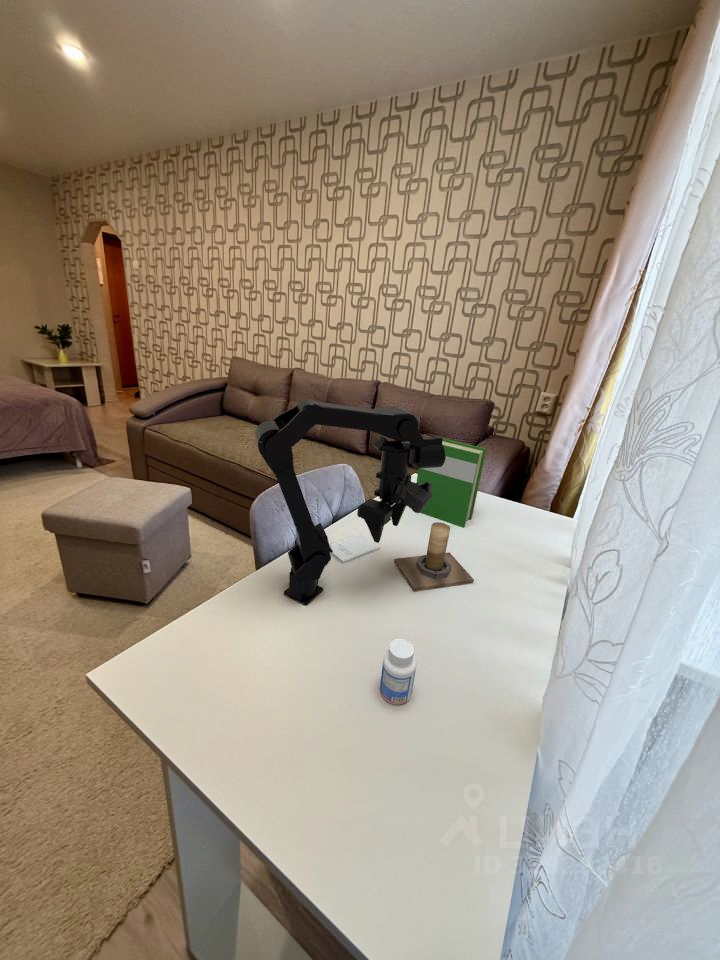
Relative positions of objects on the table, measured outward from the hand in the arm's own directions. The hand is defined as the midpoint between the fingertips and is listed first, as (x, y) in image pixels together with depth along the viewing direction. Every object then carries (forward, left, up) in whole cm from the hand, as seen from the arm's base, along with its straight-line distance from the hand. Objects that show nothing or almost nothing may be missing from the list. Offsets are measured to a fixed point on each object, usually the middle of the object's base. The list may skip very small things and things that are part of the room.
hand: (386, 533), depth 88 cm
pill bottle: (-25, -16, -13) cm, 32 cm away
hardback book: (+43, 0, -13) cm, 45 cm away
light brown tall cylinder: (+11, -9, -12) cm, 19 cm away
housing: (+11, -9, -13) cm, 19 cm away
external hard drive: (+8, +13, -14) cm, 20 cm away
